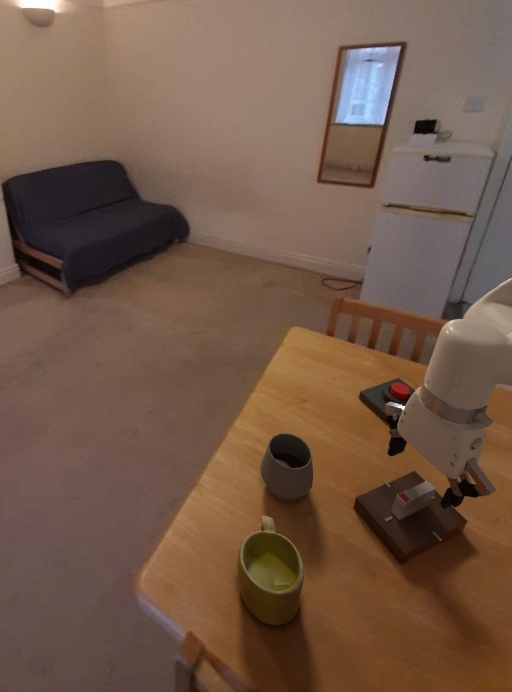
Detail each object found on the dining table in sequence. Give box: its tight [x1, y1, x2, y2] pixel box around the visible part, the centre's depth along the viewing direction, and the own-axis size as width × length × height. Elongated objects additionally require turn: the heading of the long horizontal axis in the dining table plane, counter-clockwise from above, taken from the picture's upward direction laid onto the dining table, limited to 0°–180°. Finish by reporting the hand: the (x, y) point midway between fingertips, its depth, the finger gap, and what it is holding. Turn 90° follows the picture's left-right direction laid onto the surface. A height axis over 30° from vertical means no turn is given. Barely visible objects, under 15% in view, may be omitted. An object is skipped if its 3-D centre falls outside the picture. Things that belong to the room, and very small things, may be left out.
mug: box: [237, 515, 305, 626], centre depth 62 cm, size 12×10×10 cm
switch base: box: [353, 470, 468, 566], centre depth 70 cm, size 14×11×3 cm
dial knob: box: [391, 480, 437, 520], centre depth 69 cm, size 7×2×5 cm, turn 110°
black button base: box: [358, 377, 416, 425], centre depth 93 cm, size 12×10×4 cm
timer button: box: [390, 383, 410, 400], centre depth 92 cm, size 4×4×2 cm
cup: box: [260, 432, 314, 502], centre depth 75 cm, size 10×9×10 cm
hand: (420, 476), depth 66 cm, fingers open, 9 cm apart
